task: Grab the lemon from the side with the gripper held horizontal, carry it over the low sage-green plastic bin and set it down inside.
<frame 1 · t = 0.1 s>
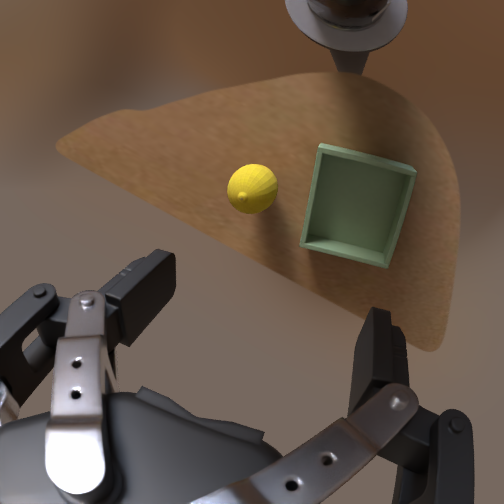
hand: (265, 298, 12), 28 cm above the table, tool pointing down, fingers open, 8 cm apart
lemon: (262, 179, 39), on the table
bin: (356, 201, 37), on the table
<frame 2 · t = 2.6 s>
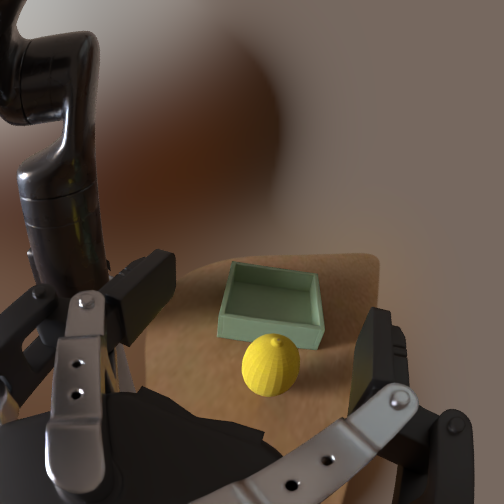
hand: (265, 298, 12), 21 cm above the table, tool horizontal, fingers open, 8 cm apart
lemon: (264, 389, 32), on the table
bin: (269, 313, 42), on the table
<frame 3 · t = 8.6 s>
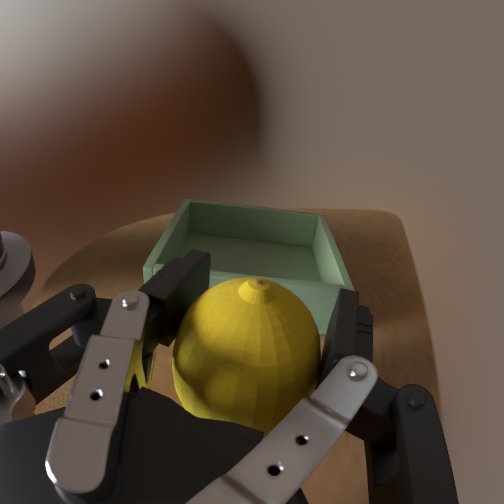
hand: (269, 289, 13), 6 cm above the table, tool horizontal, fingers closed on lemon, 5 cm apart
lemon: (236, 419, 14), on the table, touching gripper
bin: (247, 277, 24), on the table
when the fingers open (7 cm above the table, at t = 16.3 s): lemon stays where it is, resting on bin.
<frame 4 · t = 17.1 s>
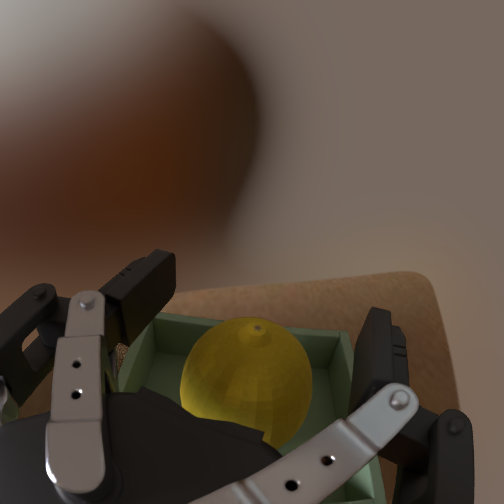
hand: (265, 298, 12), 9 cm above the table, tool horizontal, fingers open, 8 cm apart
lemon: (238, 435, 15), resting on bin
bin: (236, 436, 15), on the table
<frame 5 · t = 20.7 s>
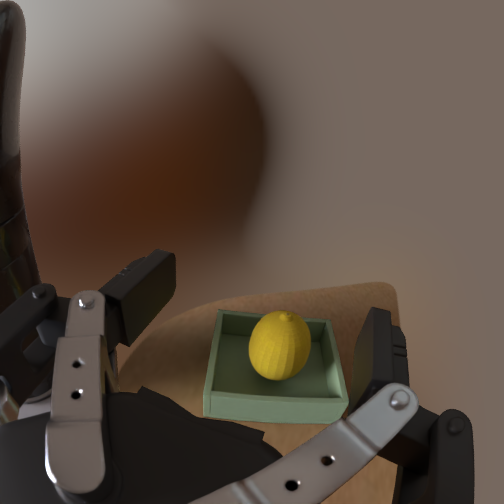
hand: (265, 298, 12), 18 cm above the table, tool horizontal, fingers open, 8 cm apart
lemon: (272, 375, 30), resting on bin
bin: (271, 376, 30), on the table
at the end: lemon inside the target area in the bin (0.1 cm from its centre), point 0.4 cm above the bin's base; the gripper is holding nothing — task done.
